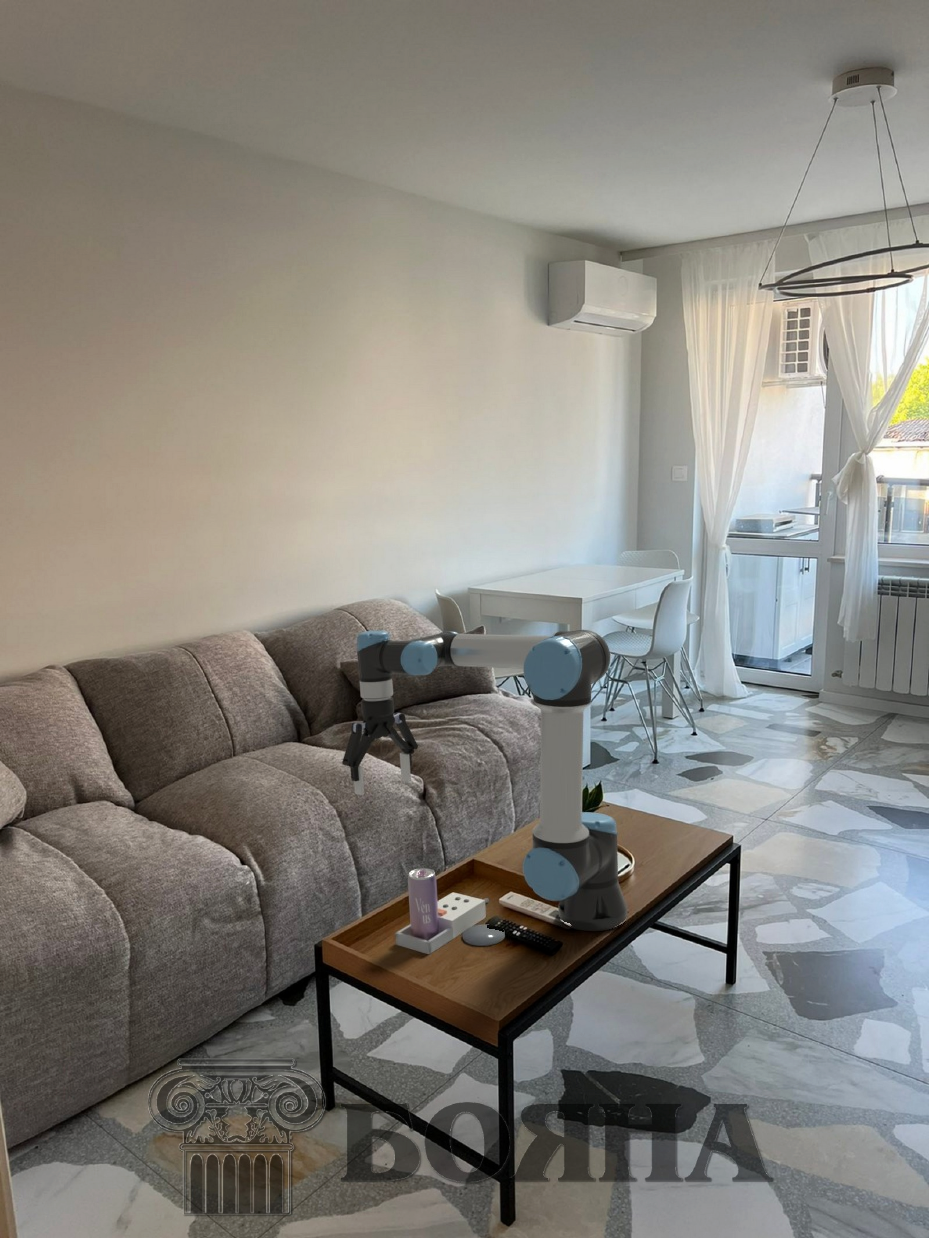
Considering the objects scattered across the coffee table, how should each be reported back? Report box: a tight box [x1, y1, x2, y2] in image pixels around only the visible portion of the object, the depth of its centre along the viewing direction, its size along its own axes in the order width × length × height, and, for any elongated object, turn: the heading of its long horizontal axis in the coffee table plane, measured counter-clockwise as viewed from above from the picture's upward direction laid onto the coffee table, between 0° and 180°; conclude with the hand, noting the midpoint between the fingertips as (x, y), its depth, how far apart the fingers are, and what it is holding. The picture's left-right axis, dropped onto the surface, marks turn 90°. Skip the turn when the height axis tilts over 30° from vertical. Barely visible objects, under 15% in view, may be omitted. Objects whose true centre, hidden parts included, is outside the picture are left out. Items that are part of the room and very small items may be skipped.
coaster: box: [462, 923, 506, 947], centre depth 201 cm, size 9×9×1 cm
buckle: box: [394, 891, 490, 955], centre depth 207 cm, size 28×9×5 cm, turn 144°
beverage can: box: [407, 867, 439, 941], centre depth 199 cm, size 6×6×15 cm
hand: (383, 787), depth 220 cm, fingers open, 13 cm apart
